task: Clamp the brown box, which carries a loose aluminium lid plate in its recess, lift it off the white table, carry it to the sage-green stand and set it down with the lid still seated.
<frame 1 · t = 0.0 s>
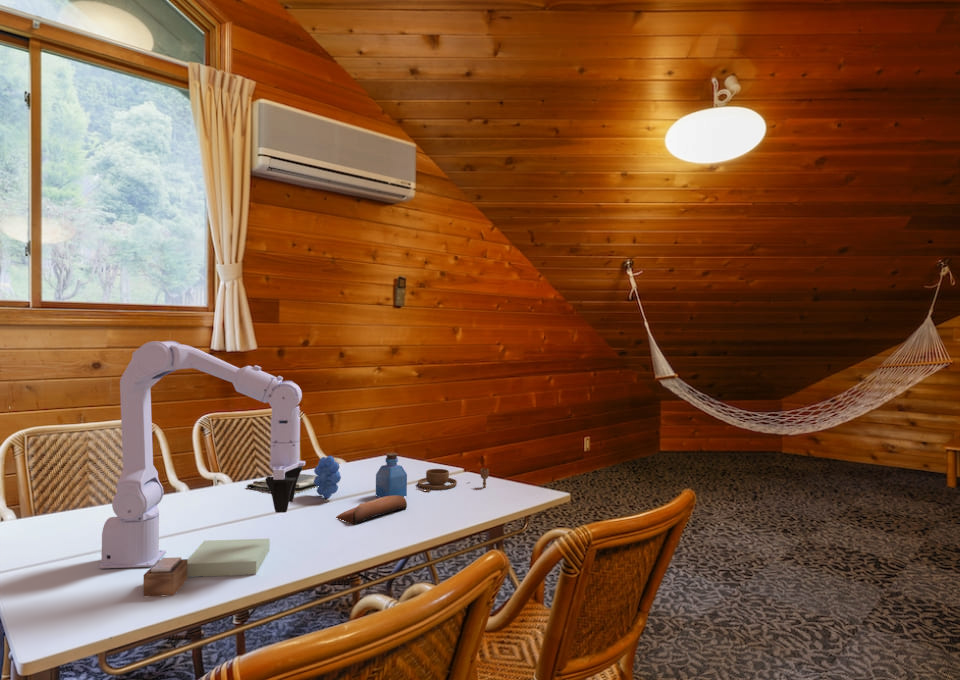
hand: (284, 506, 126), 10 cm above the table, tool pointing down, fingers open, 7 cm apart
stand: (229, 563, 122), on the table
perfume bottle: (391, 497, 174), on the table
brown box: (166, 589, 110), on the table, touching lid plate
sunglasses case: (371, 516, 156), on the table
lid plate: (166, 571, 110), point 3 cm above the table, touching brown box
place setting: (448, 489, 185), on the table
grapes: (329, 498, 171), on the table
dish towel: (290, 487, 184), on the table
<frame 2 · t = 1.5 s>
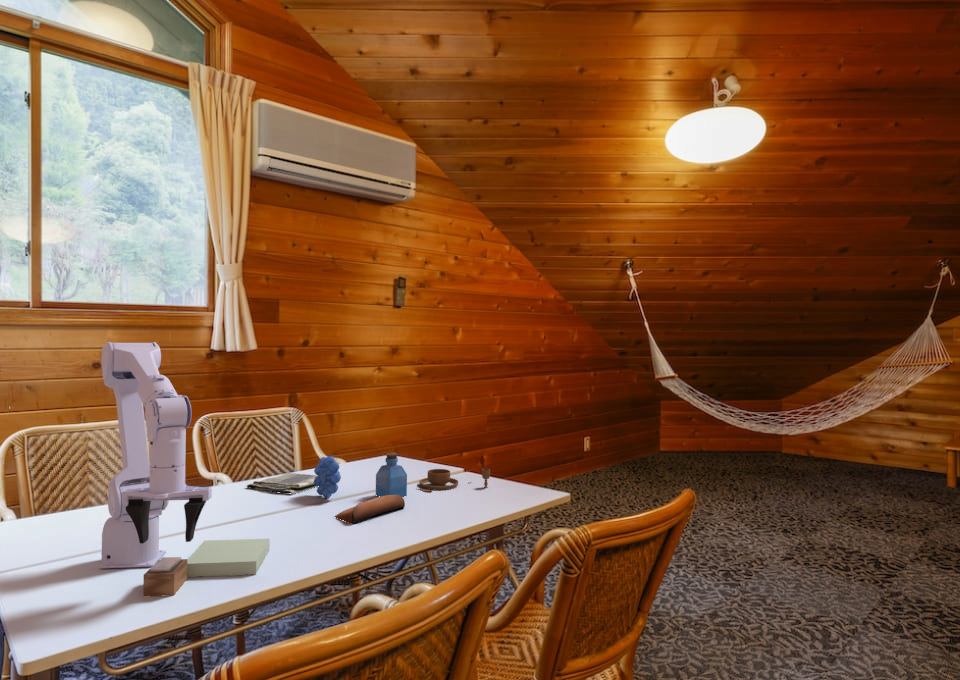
hand: (166, 540, 109), 8 cm above the table, tool pointing down, fingers open, 7 cm apart
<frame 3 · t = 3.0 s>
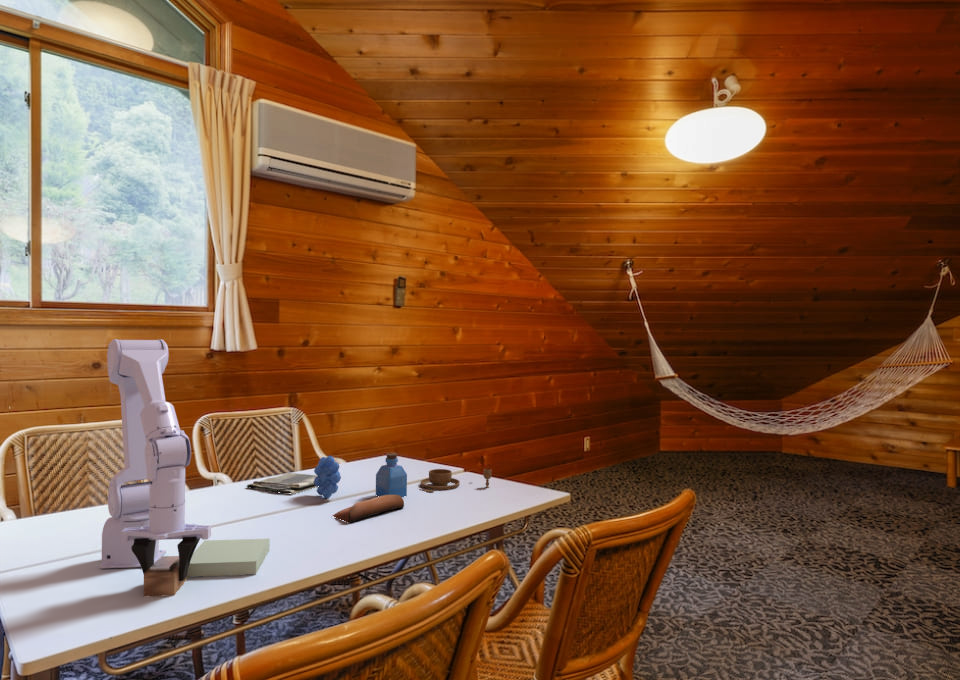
hand: (166, 579, 110), 1 cm above the table, tool pointing down, fingers closed on brown box, 5 cm apart
brown box: (166, 587, 110), on the table, touching gripper, lid plate
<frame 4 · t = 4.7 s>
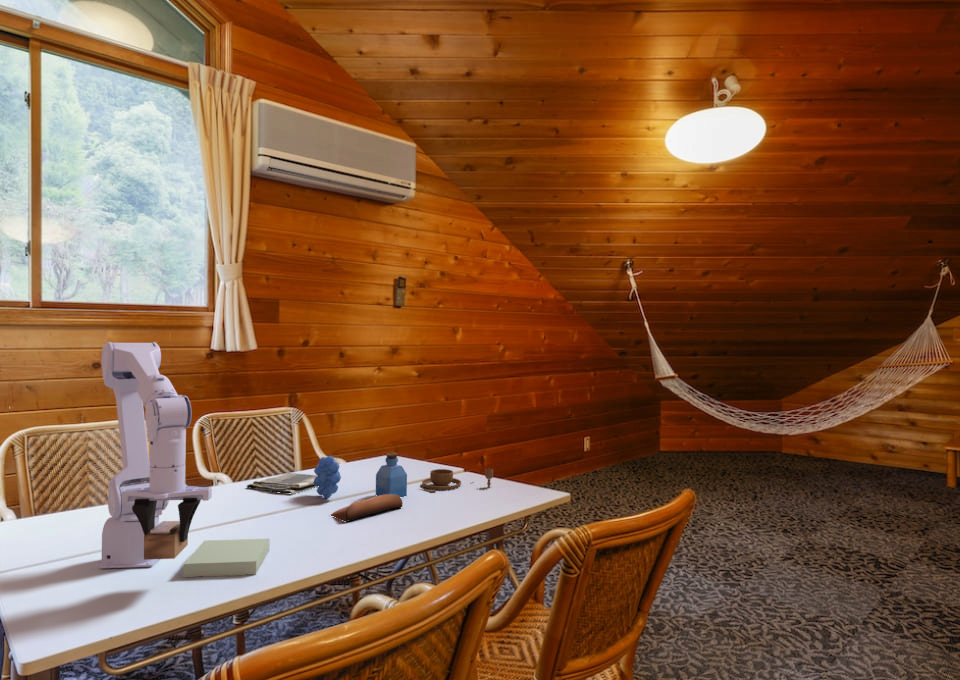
hand: (166, 540, 110), 8 cm above the table, tool pointing down, fingers closed on brown box, 5 cm apart
brown box: (166, 551, 109), point 6 cm above the table, touching gripper, lid plate
lid plate: (166, 533, 109), point 10 cm above the table, touching brown box
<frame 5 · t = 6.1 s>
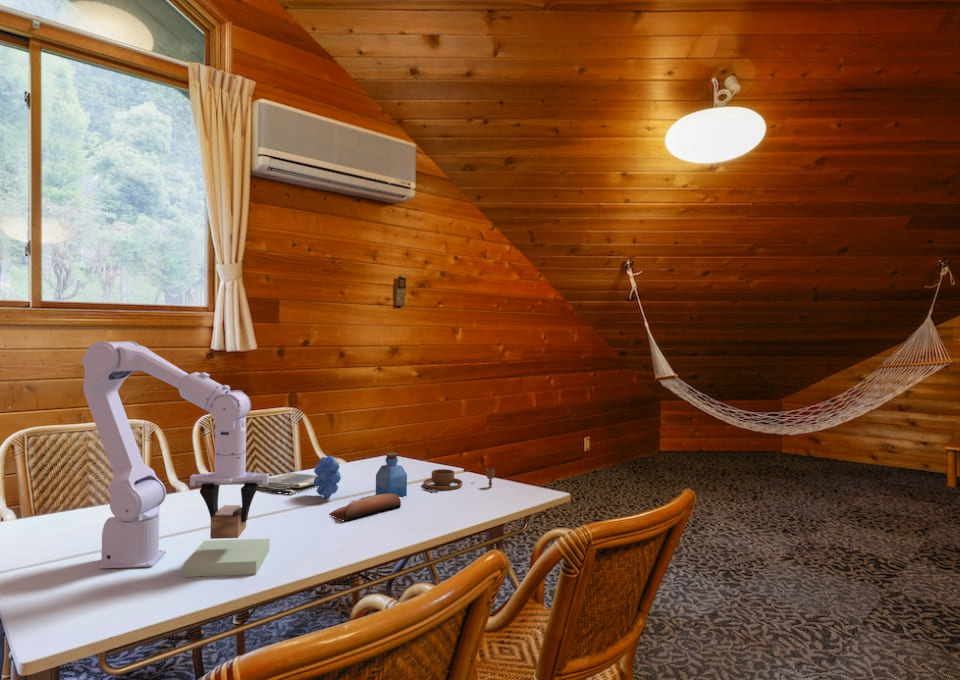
hand: (229, 521, 122), 8 cm above the table, tool pointing down, fingers closed on brown box, 5 cm apart
brown box: (228, 532, 121), point 6 cm above the table, touching gripper, lid plate
lid plate: (228, 516, 121), point 9 cm above the table, touching brown box
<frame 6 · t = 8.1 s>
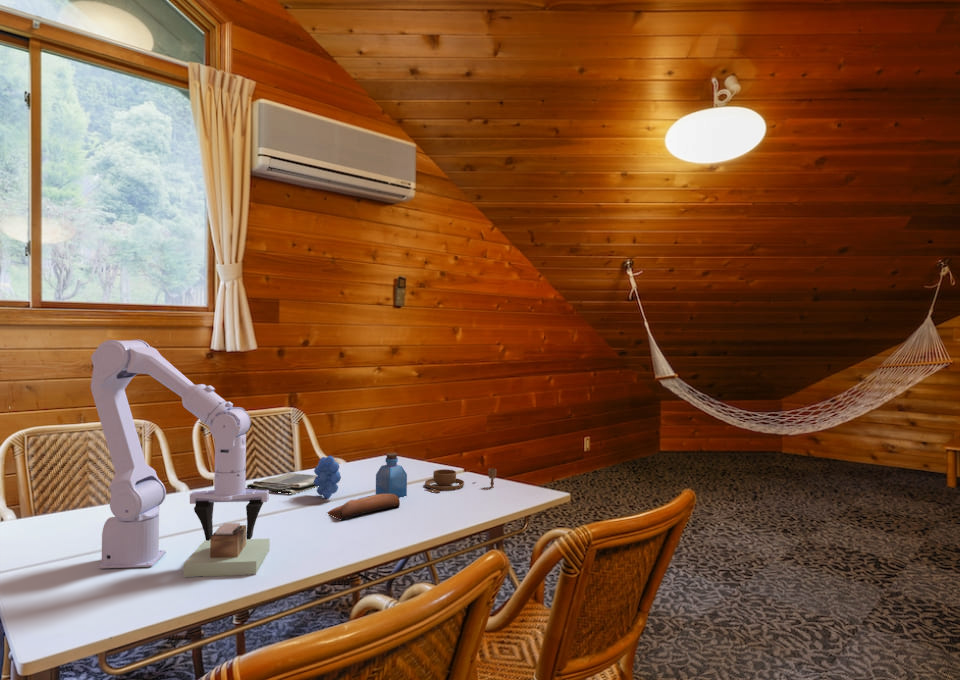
hand: (229, 538, 122), 5 cm above the table, tool pointing down, fingers open, 7 cm apart
brown box: (228, 551, 121), point 2 cm above the table, touching lid plate, stand
lid plate: (227, 534, 121), point 6 cm above the table, touching brown box
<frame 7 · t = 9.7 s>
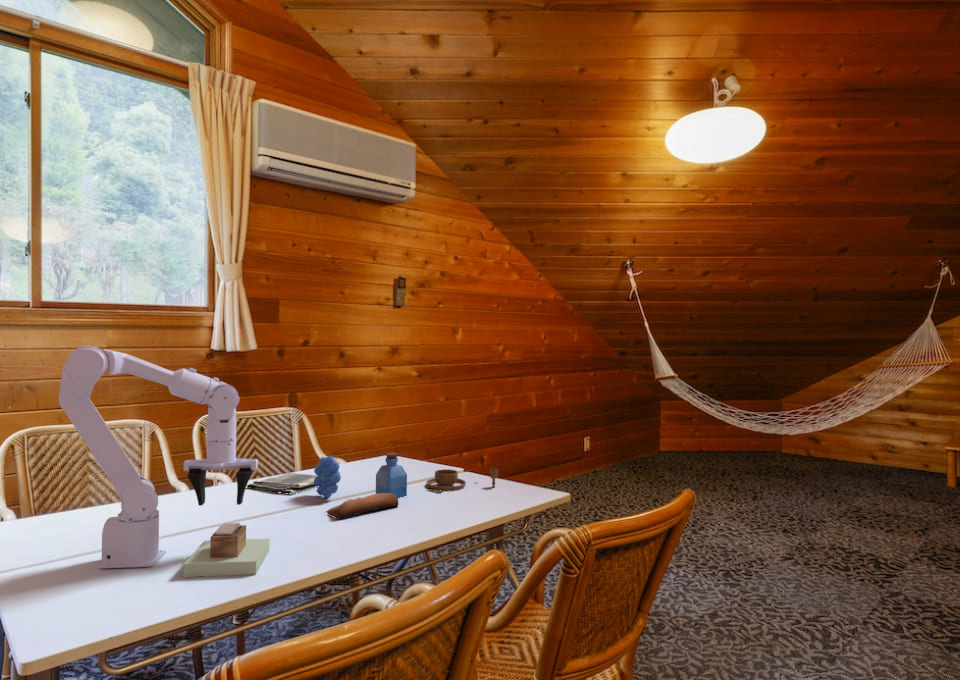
hand: (220, 503, 130), 9 cm above the table, tool pointing down, fingers open, 7 cm apart
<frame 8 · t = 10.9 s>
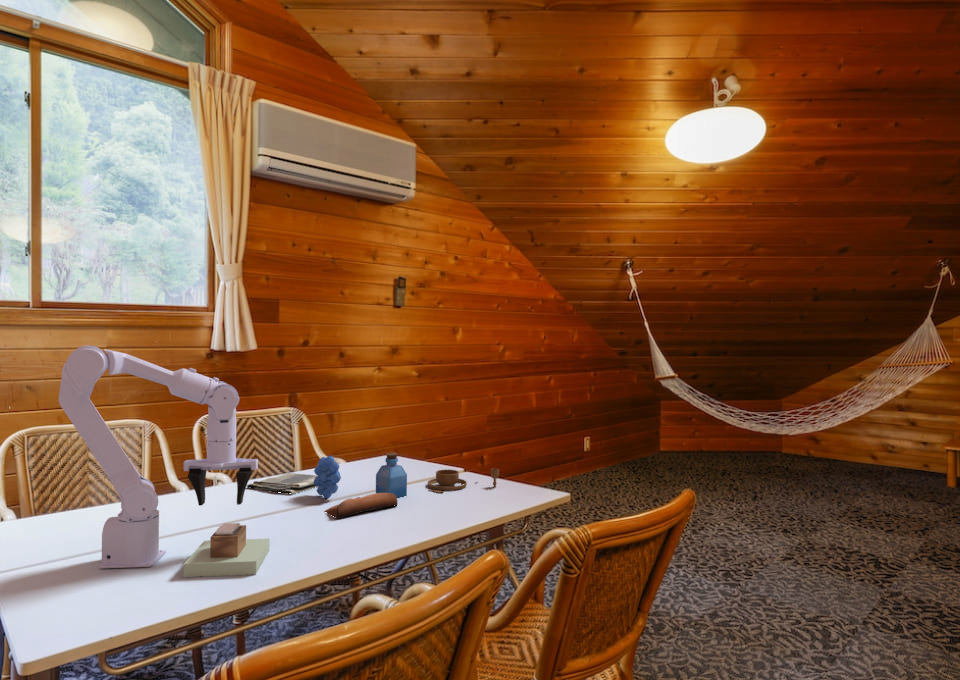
hand: (220, 503, 130), 9 cm above the table, tool pointing down, fingers open, 7 cm apart
at the end: brown box inside the target area on the stand (0.4 cm from its centre), point 2.5 cm above the stand's base; lid plate 0.2 cm off-centre on the brown box, point 3.2 cm above the brown box's base; the gripper is holding nothing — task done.
